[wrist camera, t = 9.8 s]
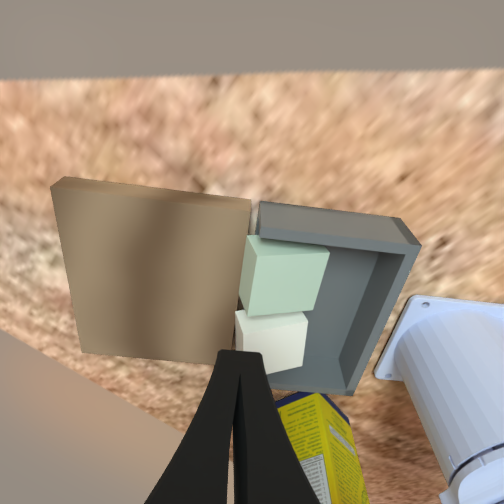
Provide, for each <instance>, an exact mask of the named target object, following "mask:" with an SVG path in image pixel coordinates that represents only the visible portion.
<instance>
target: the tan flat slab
mask: <svg viewBox="0 0 504 504" xmlns="http://www.w3.org/2000/svg"><path fill="white" fill-rule="evenodd" d="M50 190H51V195H52V200H53V205H54V211H55V216H56V221H57V226H58V231H59V237H60V242H61V247H62V252H63V257H64V262H65V268H66V273H67V278H68V283H69V288H70V294H71V299H72V304H73V309H74V314H75V320H76V325H77V330H78V335H79V340H80V346H81V351H82V353H90V354H101V355H111V356H122V357H133V358H144V359H155V360H165V361H176V362H187V363H198V364H208V365H215V362H216V358H217V353H218V351H219V350H221V349H226V350H231V347H232V340H233V333H234V326H235V311H237V304H238V297H239V286H240V279H241V272H242V265H243V258H244V251H245V244H246V237H247V234H248V227H249V220H250V213H251V200H250V199H242V198H234V197H226V196H218V195H210V194H202V193H194V192H185V191H177V190H169V189H161V188H153V187H145V186H137V185H129V184H121V183H113V182H105V181H97V180H89V179H81V178H73V177H65V176H64V177H63V178H61V179H60V180H59V181H57V182H56V183H55V184H53V185H52V186H51V187H50Z"/></svg>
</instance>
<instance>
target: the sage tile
mask: <svg viewBox="0 0 504 504" xmlns="http://www.w3.org/2000/svg"><path fill="white" fill-rule="evenodd" d="M329 255H330V252H329V251H328V250H327V249H326V247H325V246H324V245H319V244H311V243H302V242H294V241H285V240H277V239H268V238H260V237H259V235H247V237H246V244H245V251H244V258H243V265H242V272H241V279H240V286H239V296H240V299H241V301H242V304H243V307H244V309H245V312H246V315H247V317H248V316H258V315H268V314H278V313H288V312H299V311H309V310H313V308H314V305H315V301H316V298H317V295H318V291H319V288H320V285H321V281H322V278H323V275H324V271H325V268H326V265H327V261H328V258H329Z"/></svg>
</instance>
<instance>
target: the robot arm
mask: <svg viewBox="0 0 504 504" xmlns="http://www.w3.org/2000/svg"><path fill="white" fill-rule="evenodd" d="M424 302H426V303H425V304H423V303H424ZM374 374H375V377H376V378H378V379H384V380H395V381H404V383H405V386H406V388H407V390H408V393H409V395H410V398H411V400H412V402H413V405H414V407H415V409H416V412H417V414H418V416H419V419H420V421H421V423H422V426H423V428H424V430H425V433H426V435H427V437H428V440H429V442H430V444H431V447H432V449H433V451H434V454H435V456H436V459H437V461H438V463H439V466H440V468H441V470H442V473H443V475H444V477H445V480H446V482H447V484H448V487H449V488H448V489H446V490H445V491H444V492H442V493H440V494H439V498H440V500H441V503H442V504H504V304H497V303H488V302H479V301H470V300H461V299H452V298H442V297H433V296H424V295H414V296H412V297H411V298H410V299H409V300H408V302H407V304H406V306H405V308H404V310H403V312H402V314H401V316H400V319H399V321H398V323H397V325H396V327H395V329H394V331H393V333H392V335H391V337H390V339H389V341H388V343H387V345H386V347H385V349H384V351H383V354H382V356H381V358H380V360H379V362H378V364H377V366H376V368H375V370H374ZM232 424H233V464H234V504H321V503H320V501H319V499H318V498H317V496H316V494H315V492H314V490H313V488H312V486H311V484H310V482H309V480H308V478H307V476H306V474H305V472H304V470H303V468H302V466H301V464H300V462H299V460H298V458H297V456H296V453H295V451H294V449H293V447H292V444H291V442H290V440H289V437H288V435H287V433H286V430H285V428H284V425H283V423H282V420H281V417H280V415H279V412H278V409H277V407H276V404H275V401H274V398H273V395H272V392H271V389H270V385H269V382H268V379H267V375H266V371H265V367H264V362H263V356H262V354H261V353H260V352H250V351H238V350H226V349H221V350H219V351H218V353H217V358H216V362H215V366H214V369H213V372H212V375H211V378H210V381H209V384H208V386H207V389H206V391H205V393H204V396H203V398H202V400H201V403H200V405H199V407H198V409H197V412H196V414H195V416H194V418H193V420H192V422H191V424H190V426H189V428H188V430H187V432H186V434H185V435H184V437H183V439H182V441H181V443H180V445H179V447H178V449H177V450H176V452H175V454H174V456H173V457H172V459H171V461H170V463H169V464H168V466H167V468H166V469H165V471H164V473H163V474H162V476H161V478H160V479H159V481H158V482H157V484H156V486H155V487H154V489H153V490H152V492H151V493H150V495H149V497H148V498H147V500H146V501H145V503H144V504H227V484H228V464H229V463H228V462H229V448H230V438H231V431H232Z"/></svg>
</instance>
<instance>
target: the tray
mask: <svg viewBox="0 0 504 504" xmlns="http://www.w3.org/2000/svg"><path fill="white" fill-rule="evenodd" d="M255 235H259V237H260V238H268V239H277V240H285V241H294V242H302V243H311V244H319V245H324V246H325V247H326V249H327V250H328V251H329V252H330V255H329V258H328V261H327V265H326V268H325V271H324V275H323V278H322V281H321V285H320V288H319V291H318V295H317V298H316V301H315V305H314V308H313V310H309V311H302V312H303V314H304V315H305V317H306V319H307V320H308V326H307V334H306V341H305V349H304V356H303V364H302V366H300V367H296V368H292V369H287V370H283V371H279V372H274V373H270V374H266V375H267V379H268V382H269V385H270V389H279V390H290V391H301V392H312V393H323V394H335V395H346V396H353V394H354V392H355V390H356V387H357V385H358V383H359V381H360V379H361V377H362V374H363V372H364V370H365V368H366V366H367V364H368V361H369V359H370V357H371V355H372V353H373V351H374V348H375V346H376V344H377V342H378V340H379V338H380V336H381V333H382V331H383V329H384V327H385V325H386V323H387V320H388V318H389V316H390V314H391V312H392V310H393V307H394V305H395V303H396V301H397V299H398V297H399V294H400V292H401V290H402V288H403V286H404V284H405V281H406V279H407V277H408V275H409V273H410V271H411V268H412V266H413V264H414V262H415V260H416V258H417V255H418V253H419V251H420V249H421V247H422V245H421V244H420V243H419V241H418V240H417V239H416V238H415V236H414V235H413V234H412V233H411V231H410V230H409V229H408V227H407V226H406V225H405V224H404V222H403V221H402V220H401V218H395V217H387V216H379V215H371V214H363V213H354V212H346V211H338V210H330V209H322V208H314V207H306V206H298V205H290V204H282V203H274V202H266V201H260V204H259V211H258V217H257V224H256V230H255ZM243 310H245V309H244V307H243Z"/></svg>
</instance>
